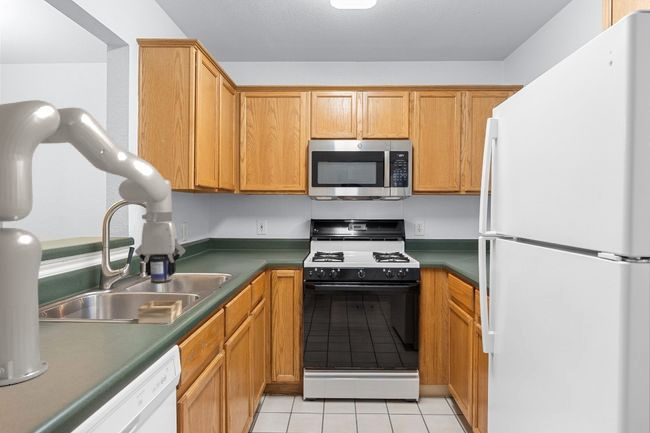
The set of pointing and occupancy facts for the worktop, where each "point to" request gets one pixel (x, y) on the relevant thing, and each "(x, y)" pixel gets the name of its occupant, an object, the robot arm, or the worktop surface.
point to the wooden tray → (159, 311)
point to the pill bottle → (160, 269)
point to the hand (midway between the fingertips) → (161, 274)
